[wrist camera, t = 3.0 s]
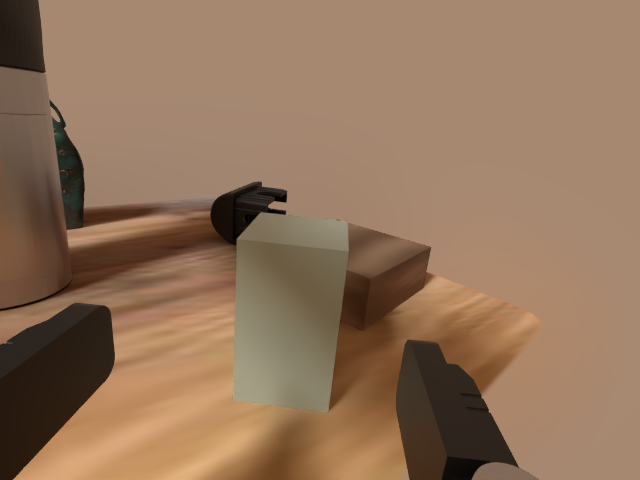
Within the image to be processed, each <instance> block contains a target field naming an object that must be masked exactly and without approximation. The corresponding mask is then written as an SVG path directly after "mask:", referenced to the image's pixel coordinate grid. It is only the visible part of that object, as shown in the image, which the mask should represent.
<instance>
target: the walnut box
mask: <svg viewBox="0 0 640 480" xmlns="http://www.w3.org/2000/svg"><path fill="white" fill-rule="evenodd" d="M337 221H340V220H337ZM347 224H348V244H349V254H348V262H347V270H346V278H345V285H344V293H343V301H342V309H341V317H340V320H342V321H344V322H346V323H348V324H350V325H352V326H354V327H356V328H358V329H360V330H362V331H364V330H365V329H366V328H368V327H369V326H371V325H372V324H373V323H375V322H376V321H378V320H379V319H380V318H382V317H383V316H385V315H386V314H387V313H389V312H390V311H392V310H393V309H394V308H396V307H397V306H399V305H400V304H401V303H403V302H404V301H406V300H407V299H408V298H410V297H411V296H413V295H414V294H415V293H417V292H418V291H420V290H421V289H422V288H423V285H424V280H425V275H426V270H427V265H428V260H429V255H430V250H431V247H429V246H426V245H422V244H419V243H415V242H412V241H409V240H405V239H401V238H398V237H395V236H391V235H388V234H385V233H381V232H378V231H374V230H371V229H367V228H364V227H361V226H357V225H353V224H350V223H347Z"/></svg>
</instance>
